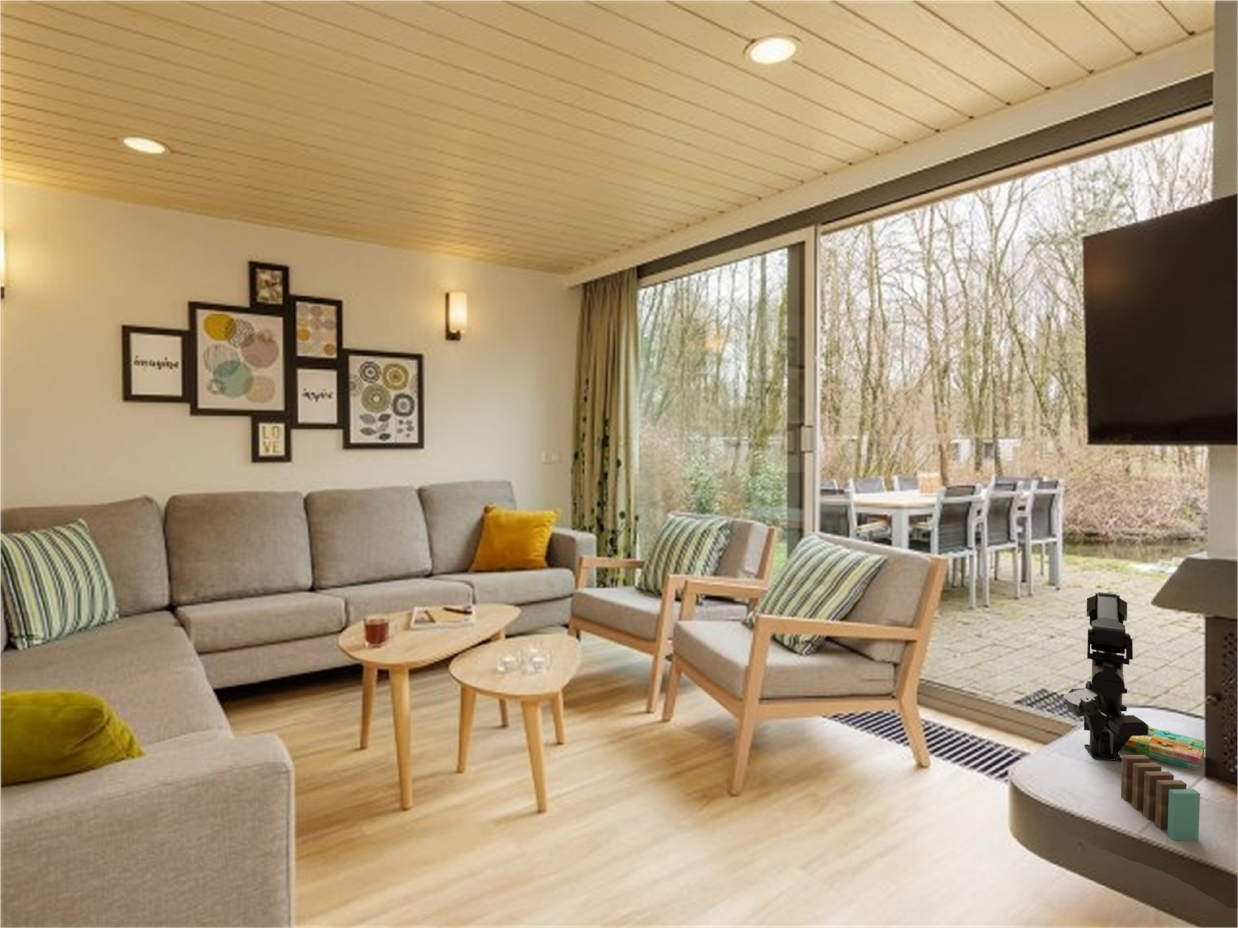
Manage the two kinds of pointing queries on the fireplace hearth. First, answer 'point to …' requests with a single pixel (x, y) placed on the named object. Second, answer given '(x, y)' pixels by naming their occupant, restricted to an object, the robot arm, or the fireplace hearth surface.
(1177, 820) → the domino
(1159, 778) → the domino
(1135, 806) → the domino
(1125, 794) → the domino
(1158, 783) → the domino
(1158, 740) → the puzzle game
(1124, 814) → the fireplace hearth surface
